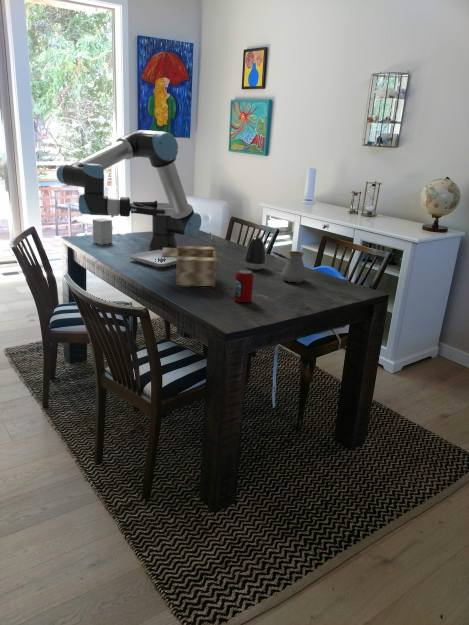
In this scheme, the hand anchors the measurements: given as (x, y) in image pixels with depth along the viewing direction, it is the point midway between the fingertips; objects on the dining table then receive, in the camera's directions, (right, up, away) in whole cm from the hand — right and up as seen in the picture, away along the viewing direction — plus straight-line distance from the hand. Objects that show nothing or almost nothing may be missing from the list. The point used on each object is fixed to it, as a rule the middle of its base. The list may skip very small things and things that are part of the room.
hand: (173, 209), depth 202 cm
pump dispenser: (+34, -21, +39) cm, 56 cm away
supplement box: (-46, -5, +66) cm, 80 cm away
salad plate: (-11, -18, +38) cm, 43 cm away
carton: (+5, -28, +11) cm, 31 cm away
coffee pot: (+47, -28, +20) cm, 59 cm away
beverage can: (+28, -37, -8) cm, 47 cm away
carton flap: (+16, -13, +7) cm, 22 cm away
